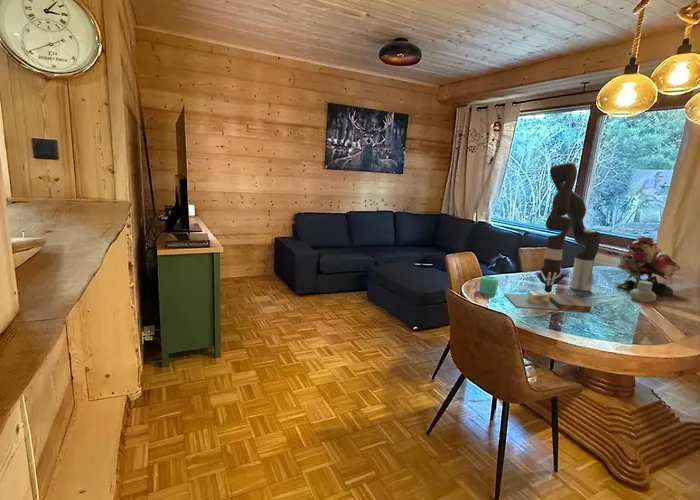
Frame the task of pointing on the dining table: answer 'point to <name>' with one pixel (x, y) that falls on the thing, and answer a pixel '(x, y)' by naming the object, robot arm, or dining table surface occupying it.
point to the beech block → (538, 297)
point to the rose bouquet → (647, 265)
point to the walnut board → (569, 302)
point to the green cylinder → (488, 285)
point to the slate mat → (528, 302)
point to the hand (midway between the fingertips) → (547, 292)
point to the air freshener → (643, 292)
